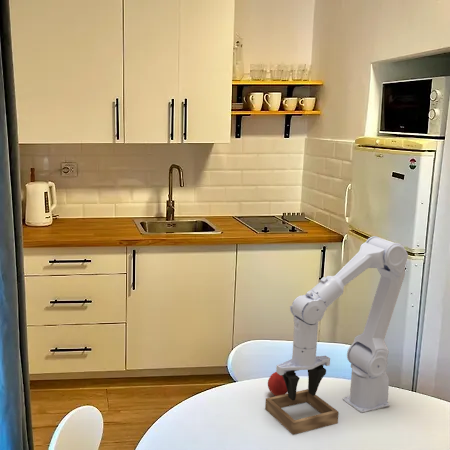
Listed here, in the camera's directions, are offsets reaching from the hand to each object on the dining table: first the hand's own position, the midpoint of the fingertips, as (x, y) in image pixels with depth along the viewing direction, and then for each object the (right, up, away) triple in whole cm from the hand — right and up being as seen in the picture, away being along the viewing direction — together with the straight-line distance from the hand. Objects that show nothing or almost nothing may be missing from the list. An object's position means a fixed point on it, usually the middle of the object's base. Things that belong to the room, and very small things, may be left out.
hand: (301, 396), depth 146 cm
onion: (-5, -4, +11) cm, 12 cm away
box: (0, -5, +1) cm, 5 cm away
